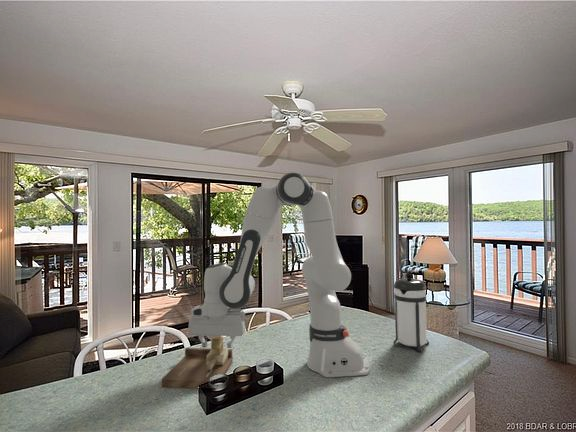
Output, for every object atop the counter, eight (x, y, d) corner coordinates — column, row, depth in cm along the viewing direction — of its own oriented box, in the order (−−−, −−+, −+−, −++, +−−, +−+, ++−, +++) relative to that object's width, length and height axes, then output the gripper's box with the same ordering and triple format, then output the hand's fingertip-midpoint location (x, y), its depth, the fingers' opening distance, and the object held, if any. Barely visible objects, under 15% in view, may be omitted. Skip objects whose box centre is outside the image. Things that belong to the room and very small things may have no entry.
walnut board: (232, 362, 112) (232, 349, 112) (215, 389, 94) (215, 373, 94) (186, 361, 114) (186, 347, 114) (161, 387, 96) (161, 371, 96)
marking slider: (228, 357, 110) (227, 335, 110) (217, 373, 99) (217, 348, 99) (212, 356, 111) (212, 335, 111) (200, 372, 99) (199, 348, 100)
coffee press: (440, 352, 117) (438, 276, 118) (399, 353, 118) (397, 276, 118) (421, 335, 135) (419, 269, 135) (386, 336, 135) (384, 269, 136)
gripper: (247, 306, 110) (247, 344, 110) (193, 305, 112) (194, 342, 112) (242, 311, 104) (243, 351, 103) (186, 310, 106) (186, 350, 106)
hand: (217, 347), depth 108 cm, fingers open, 8 cm apart
